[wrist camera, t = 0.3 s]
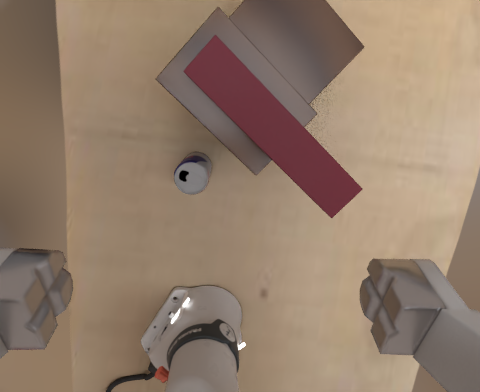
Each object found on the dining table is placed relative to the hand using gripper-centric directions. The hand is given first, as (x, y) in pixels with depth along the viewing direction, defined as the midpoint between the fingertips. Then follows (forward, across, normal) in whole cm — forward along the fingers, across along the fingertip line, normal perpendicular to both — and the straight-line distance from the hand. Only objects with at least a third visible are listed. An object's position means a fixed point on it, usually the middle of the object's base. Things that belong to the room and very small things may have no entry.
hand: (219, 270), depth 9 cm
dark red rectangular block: (+25, +5, -6) cm, 26 cm away
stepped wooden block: (+52, +4, -7) cm, 53 cm away
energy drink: (+47, -5, -22) cm, 52 cm away
